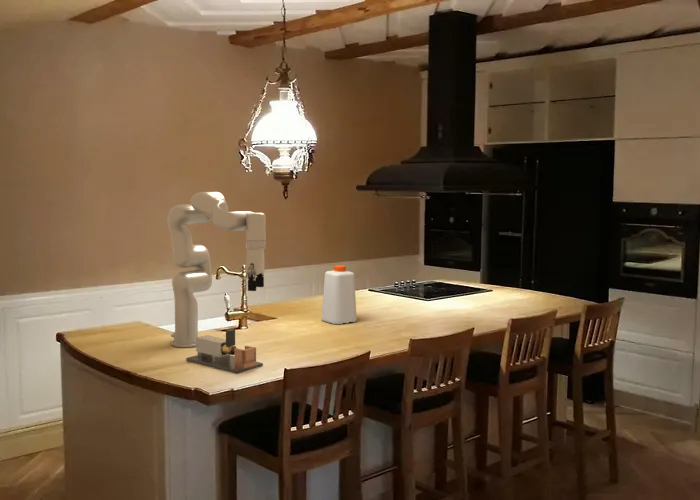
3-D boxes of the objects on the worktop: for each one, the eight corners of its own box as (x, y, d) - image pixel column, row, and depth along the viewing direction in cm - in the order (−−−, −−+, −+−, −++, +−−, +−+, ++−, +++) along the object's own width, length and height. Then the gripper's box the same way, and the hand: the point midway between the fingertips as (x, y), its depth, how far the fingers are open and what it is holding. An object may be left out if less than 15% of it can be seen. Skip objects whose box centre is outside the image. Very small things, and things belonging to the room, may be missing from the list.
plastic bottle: (359, 322, 367) (360, 266, 364) (334, 325, 359) (335, 268, 355) (343, 317, 379) (343, 263, 376) (318, 320, 371) (318, 265, 368)
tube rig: (186, 360, 288) (186, 338, 287) (213, 354, 300) (213, 333, 299) (236, 373, 272) (236, 350, 271) (262, 366, 283) (263, 343, 282)
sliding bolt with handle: (199, 348, 291) (199, 325, 290) (206, 347, 294) (206, 323, 293) (229, 355, 281) (229, 331, 280) (236, 354, 284) (236, 329, 283)
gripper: (253, 242, 291) (253, 285, 293) (239, 246, 274) (239, 292, 276) (271, 243, 290) (271, 285, 292) (258, 247, 273) (258, 292, 275)
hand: (255, 288), depth 284 cm, fingers open, 9 cm apart
